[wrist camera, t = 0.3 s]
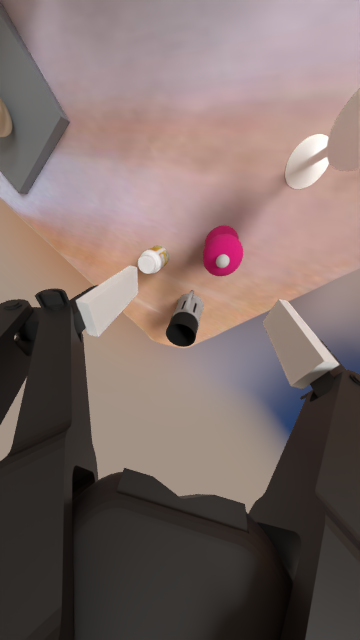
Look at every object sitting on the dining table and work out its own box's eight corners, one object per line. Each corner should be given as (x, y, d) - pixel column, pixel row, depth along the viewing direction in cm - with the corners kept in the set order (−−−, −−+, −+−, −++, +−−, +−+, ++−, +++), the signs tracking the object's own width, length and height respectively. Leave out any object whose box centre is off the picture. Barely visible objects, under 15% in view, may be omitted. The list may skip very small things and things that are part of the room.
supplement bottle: (147, 256, 41) (130, 265, 33) (157, 240, 38) (141, 246, 30) (161, 270, 42) (149, 281, 34) (172, 255, 39) (161, 264, 31)
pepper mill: (207, 260, 38) (198, 290, 22) (204, 228, 34) (192, 237, 18) (236, 255, 36) (250, 286, 20) (237, 221, 32) (255, 224, 16)
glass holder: (175, 313, 50) (162, 342, 38) (182, 273, 41) (167, 296, 29) (199, 319, 49) (193, 351, 37) (212, 280, 41) (209, 306, 29)
